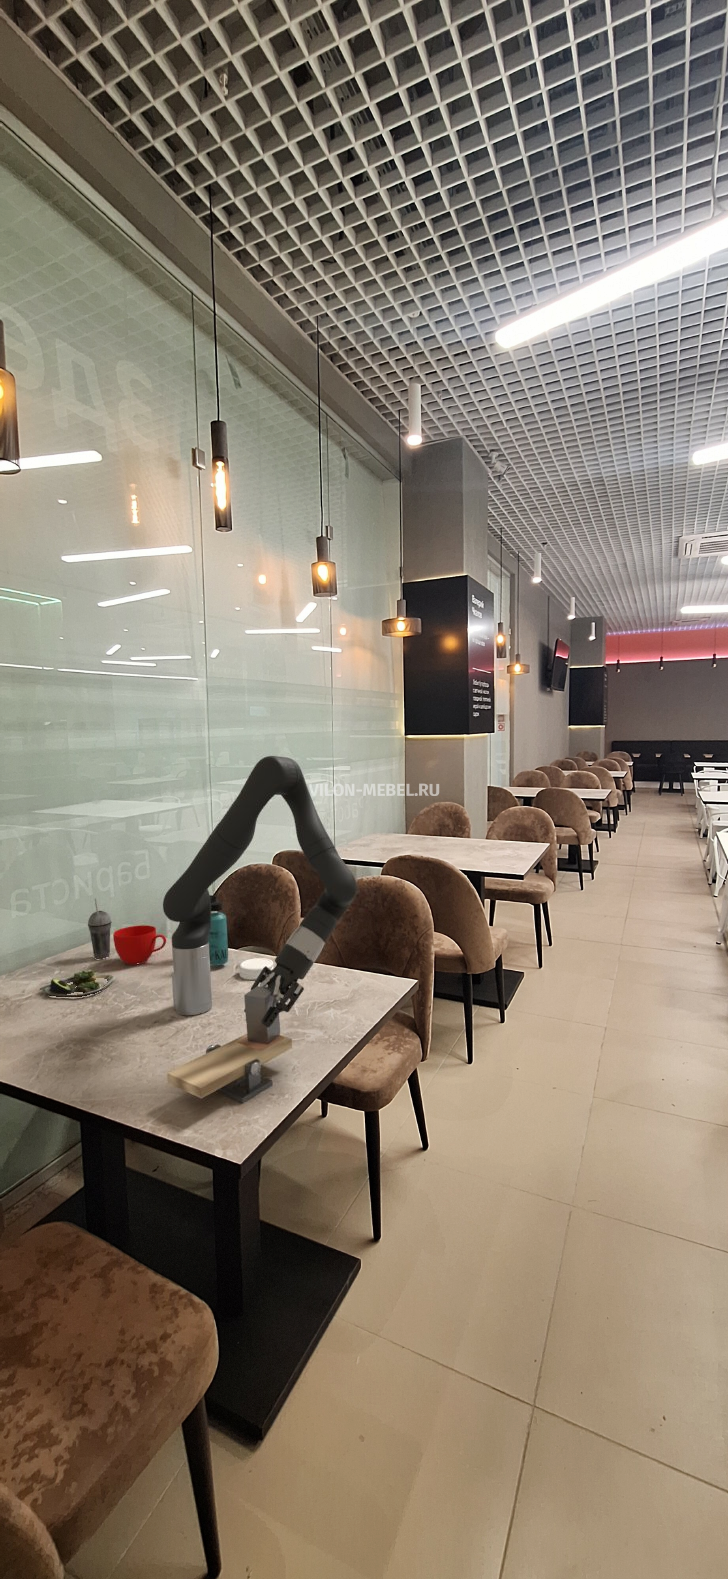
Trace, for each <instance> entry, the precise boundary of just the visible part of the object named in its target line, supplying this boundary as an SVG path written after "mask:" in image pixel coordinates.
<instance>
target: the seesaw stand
mask: <svg viewBox="0 0 728 1579" xmlns="http://www.w3.org/2000/svg"><path fill="white" fill-rule="evenodd" d="M221 1046H222V1045H220V1044H216V1045H213V1044H210V1045H208V1046H207V1048H206V1049H205V1054H207V1053H209V1052H211V1051H213V1050H215V1049H217V1048H219V1047H221ZM261 1069H262V1065H260V1060H257V1059H255V1060H254V1061H252V1062H250V1063H248V1064H246V1065H245V1075H243V1076H241V1077H239V1078H237V1079H236V1080H234V1081H232V1082H230V1083H228V1084H227V1085H225V1086H223V1087H221V1088H219V1089H218V1090H216V1091H215V1092H216V1093H218V1094H221V1095H223V1096H225V1097H228V1098H230V1099H232V1100H235V1101H237V1102H239V1103H241V1104H244V1103H245V1102H247V1101H249V1100H250V1099H251V1100H252V1098H254V1097H255V1096H258V1095H259V1094H260V1093H262V1092H264V1091H266V1090H267V1089H269V1088H271V1087H272V1086H273V1079H270V1078H267V1077H266V1076H265V1077H264V1076H263V1075H261Z"/></svg>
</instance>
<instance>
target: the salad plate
mask: <svg viewBox="0 0 728 1579" xmlns="http://www.w3.org/2000/svg"><path fill="white" fill-rule="evenodd" d="M99 972H101V970H100V969H94V970H91V969H88V970H87V971H86V970H82V971H79V972H74V974H72V975H67V976H66V977H64V978H62V979H58V978H52V979H51V980H50V984H47V985H43V986H42V987H39V990H38V991H43V993H44V994H45V995H46V996H47V995H49V996H56V997H82V996H87V995H90V994H95V993H97V992H99V991H101V992H103V991H104V990H105V989H106V988H105V987H107V986H108V985H109V986H110V985H111V984H112V983H113V982H114V981H115V976H114V975H113V974H98V973H99ZM96 978H104V979H107V981H108V982H107V984H106V985H105V986H104V985H103V986H104V987H103V986H102V985H101V982H95V980H96ZM70 982H73V984H71V985H68V984H67V983H70ZM76 986H77V987H76ZM109 986H108V987H109ZM75 987H76V988H75ZM108 987H107V988H108ZM104 988H105V989H104ZM103 989H104V990H103ZM102 990H103V991H102ZM74 992H83V994H77V995H67V994H71V993H74Z"/></svg>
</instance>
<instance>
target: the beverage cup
mask: <svg viewBox="0 0 728 1579" xmlns="http://www.w3.org/2000/svg"><path fill="white" fill-rule="evenodd" d="M94 903H95V910H96V911H94V912H93V913H92V914H91V915H90V916H89V918H88V920H87V926H88V931H89V933H90V939H91V946H92V951H93V952H92V953H93V956H94V959H95V958H96V959H103V958H106V957H109V958H110V953H111V928H112V919H111V917H110V915H109V913H107V912H106V911H105V910H99V906H98V900H97V898H94Z"/></svg>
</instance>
